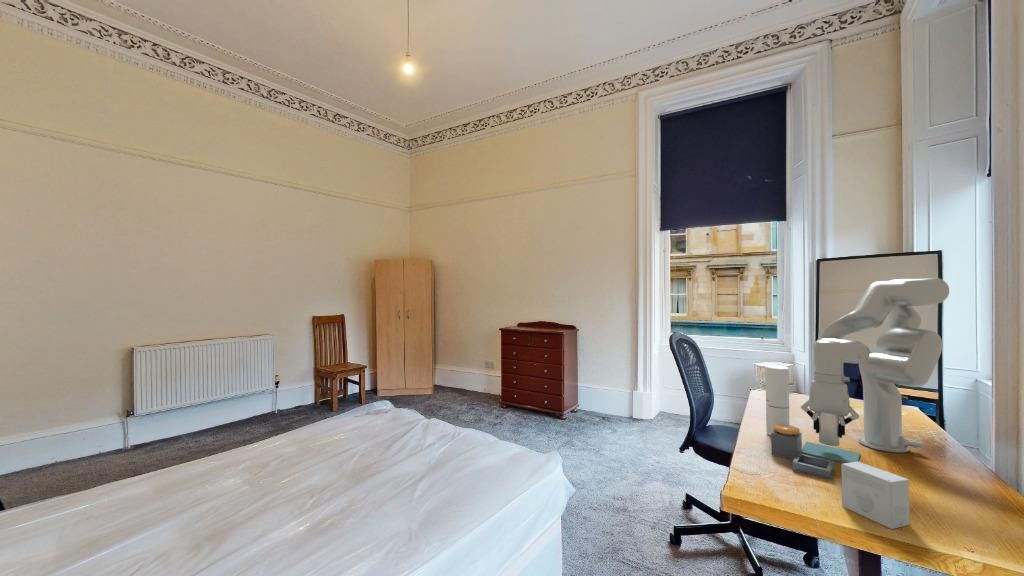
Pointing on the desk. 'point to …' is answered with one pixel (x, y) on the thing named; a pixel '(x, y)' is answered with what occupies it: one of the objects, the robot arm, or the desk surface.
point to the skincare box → (876, 494)
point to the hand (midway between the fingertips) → (829, 433)
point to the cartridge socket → (813, 466)
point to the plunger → (786, 429)
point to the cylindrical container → (777, 396)
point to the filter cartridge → (828, 429)
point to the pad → (830, 453)
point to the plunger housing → (786, 445)
